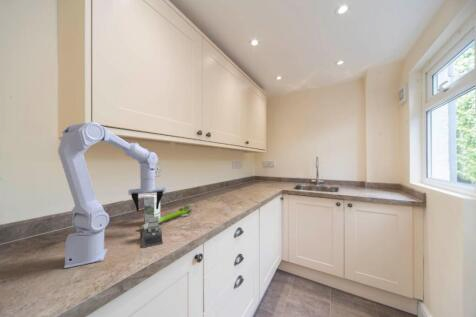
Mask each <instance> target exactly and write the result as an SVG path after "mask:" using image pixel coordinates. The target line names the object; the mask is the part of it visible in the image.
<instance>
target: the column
mask: <svg viewBox="0 0 476 317" xmlns="http://www.w3.org/2000/svg"><path fill="white" fill-rule="evenodd" d="M158 222H159V220H158V216H154V217H148V233H151V231H156V232H159V230H158V227H160V225H159V224H158Z"/></svg>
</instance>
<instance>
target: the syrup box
mask: <svg viewBox="0 0 476 317" xmlns="http://www.w3.org/2000/svg"><path fill="white" fill-rule="evenodd" d="M156 203H157V193H148V194H147V195H146V194H145V195H144V196H143V220H144V221H143V225H144V224H146V223H148V217H154V216H158V219H159V218H161V202H160V203H159V207H158V209H156Z"/></svg>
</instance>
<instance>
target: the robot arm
mask: <svg viewBox="0 0 476 317" xmlns="http://www.w3.org/2000/svg"><path fill="white" fill-rule="evenodd" d="M61 133H62V138H61V140H60V143H59V147H58V149H57V153H58V155H59V158H60V162H61V165H62V168H63V170H64V174H65V178H66V181H67V184H68V187H69V191H70V193H71V197H72V200H73V203H74V207H72V209H71V212H72V217H71V224H72V226H73V227H74V228H75V230H76V231H75V232H74V233H69V234H68V235H67V237H66V239H65V246H64V266H63V269H68V268H73V267H78V266H83V265H87V264H92V263H98V262H102V261H104V259H105V257H106V255H107V252H108V248H105V230H106V228H107V226H108V224H109V223H110V216H109V214H108V213H107V212H106V211H105V209H104V207H103V205H102V204H101V203H100V202H99V201H98V200H97V197H96V194H95V190H94V186H93V183H92V180H91V177H90V172H89V169H88V166H87V162H86V159H85V158H86V157H85V155H84V154H85V152H86V151H88V149H89V148H90V147H91V146H93V145H95V144H97V143H100V142H101V143H102V142H103V143H106V144H108V145H110V146H113V147H115V148H117V149H119V150H121V151H123V153H124V155H125V156H127V157H129V158H131V159H133V160H135V161H137V163H138V164H139V165H140V185H139V186H140V188H135V189H133V188H132V189H128V195H129V196H131V198H132V200H133V202H134V205H135V209H136V212H139V211H140V210H139V209H140V206H139V195H142V194H157V203H156V209H158V207H159V203H160V204H161V200H162V197H163V196H164V193H166V192H167V191H166V187H156V182H155V181H156V167H157V163H158V162H159V157H158V155H157V154H156V152H154V151H149V150H148V148H144V147H142V146H140V144H139V143H138V142H130V143H129V142H127V141H126V140H125V139H123V138H121V137H120V136H118V135H116V134H115V133H113V132H112V131H110V130H109V128H107V127H105V126H103V125H101V124H99V123H98V122H95V121H88V122H82V123H72V124H70V125H68V126H67V127H66V128H65V129H63V131H62V132H61Z"/></svg>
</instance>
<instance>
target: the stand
mask: <svg viewBox="0 0 476 317" xmlns="http://www.w3.org/2000/svg"><path fill="white" fill-rule="evenodd" d="M158 230H159V232H156V231H151V233H148V229H145V230H144V229H142V230H141V232H142V233H141V240H142V241H141V243H142V244H141V246H142V247H141V249H144V248H149V247H153V246H154V247H155V246H160V245H163V244H164V241H163V231H162V227H161V226H159V227H158Z"/></svg>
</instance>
